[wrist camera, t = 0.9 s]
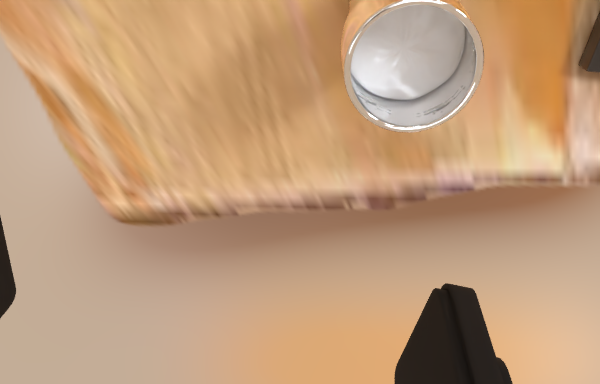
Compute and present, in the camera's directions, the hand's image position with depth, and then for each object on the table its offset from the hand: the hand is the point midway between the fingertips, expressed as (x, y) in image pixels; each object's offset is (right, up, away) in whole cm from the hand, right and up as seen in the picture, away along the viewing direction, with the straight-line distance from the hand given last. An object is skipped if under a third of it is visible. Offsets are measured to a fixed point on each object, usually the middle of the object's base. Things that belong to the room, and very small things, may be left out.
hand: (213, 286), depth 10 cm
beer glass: (+9, +16, +25) cm, 31 cm away
